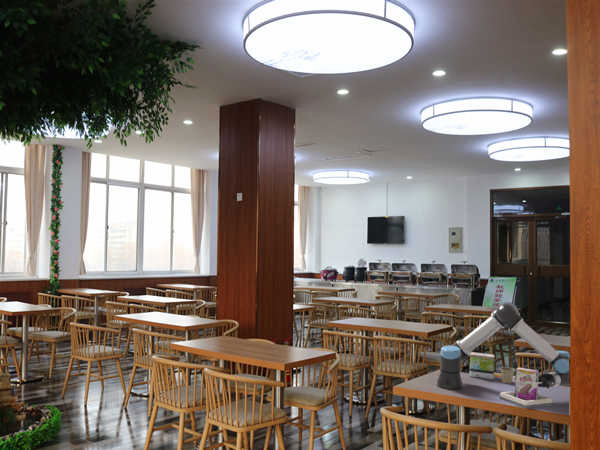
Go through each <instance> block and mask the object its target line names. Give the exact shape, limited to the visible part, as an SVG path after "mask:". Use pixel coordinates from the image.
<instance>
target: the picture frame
mask: <svg viewBox="0 0 600 450" xmlns="http://www.w3.org/2000/svg"><path fill="white" fill-rule="evenodd" d="M499 400H502V401H504V402H507V403H510V404H512V405H516V406H518V407H521V408H523V409H531V408H532V409H533V408H540V407H549V406H553V398H552V397H548V396H545V395H543V394H539V393H538V400H529V401H528V400H523V399H519V398H516V397H515V390H513V391H502V392H499Z"/></svg>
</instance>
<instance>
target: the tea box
mask: <svg viewBox="0 0 600 450" xmlns="http://www.w3.org/2000/svg"><path fill="white" fill-rule="evenodd" d="M469 357H470V358H469V360H470V361H469V377H473V378H481V379H488V380H494V375H495V354H492V353H491V354H490V353H482V352H473V351H471V355H470V356H469Z"/></svg>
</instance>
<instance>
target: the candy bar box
mask: <svg viewBox="0 0 600 450" xmlns="http://www.w3.org/2000/svg"><path fill="white" fill-rule="evenodd" d="M539 372H540V371H539V370H537V369H530V368H524V367H517V368H516V369H515V376H516V382H514V384H515V388H514V391H515V397H516V398H519V399H523V400H528V401H529V400H538V394H539V388H532V383H534V382H538V376H540V375H539Z"/></svg>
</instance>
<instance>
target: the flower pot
mask: <svg viewBox="0 0 600 450" xmlns="http://www.w3.org/2000/svg"><path fill="white" fill-rule="evenodd" d="M499 370H500V375H501V382H502V383H504V384H510V385H512V384H513V377H514V376H515V373H516V369H515V368H513V367H508V366H507V367H506V366H505V367H504V366H503V367H499Z"/></svg>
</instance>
